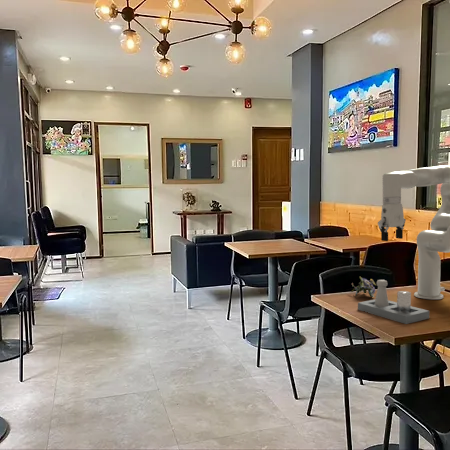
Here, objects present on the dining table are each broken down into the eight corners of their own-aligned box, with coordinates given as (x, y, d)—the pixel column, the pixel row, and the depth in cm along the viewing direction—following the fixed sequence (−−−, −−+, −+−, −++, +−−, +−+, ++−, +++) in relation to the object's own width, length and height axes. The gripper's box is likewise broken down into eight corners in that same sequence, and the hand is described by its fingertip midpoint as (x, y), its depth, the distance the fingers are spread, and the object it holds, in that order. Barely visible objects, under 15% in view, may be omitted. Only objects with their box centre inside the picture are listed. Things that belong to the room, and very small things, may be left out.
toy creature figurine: (371, 308, 210) (378, 292, 202) (348, 303, 212) (353, 287, 204) (372, 291, 218) (378, 274, 210) (350, 286, 220) (355, 269, 212)
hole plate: (380, 305, 196) (380, 298, 195) (429, 318, 175) (429, 310, 175) (357, 309, 189) (357, 302, 188) (406, 324, 168) (406, 316, 168)
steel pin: (402, 314, 181) (402, 290, 180) (413, 317, 176) (413, 292, 175) (394, 316, 178) (394, 292, 177) (404, 319, 174) (405, 294, 173)
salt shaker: (385, 313, 183) (386, 282, 182) (372, 310, 186) (372, 280, 185) (390, 310, 187) (391, 280, 186) (377, 308, 191) (378, 278, 190)
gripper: (385, 202, 186) (386, 242, 188) (411, 199, 195) (411, 238, 197) (371, 202, 193) (371, 241, 194) (397, 199, 202) (397, 236, 203)
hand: (392, 239), depth 196 cm, fingers open, 9 cm apart
